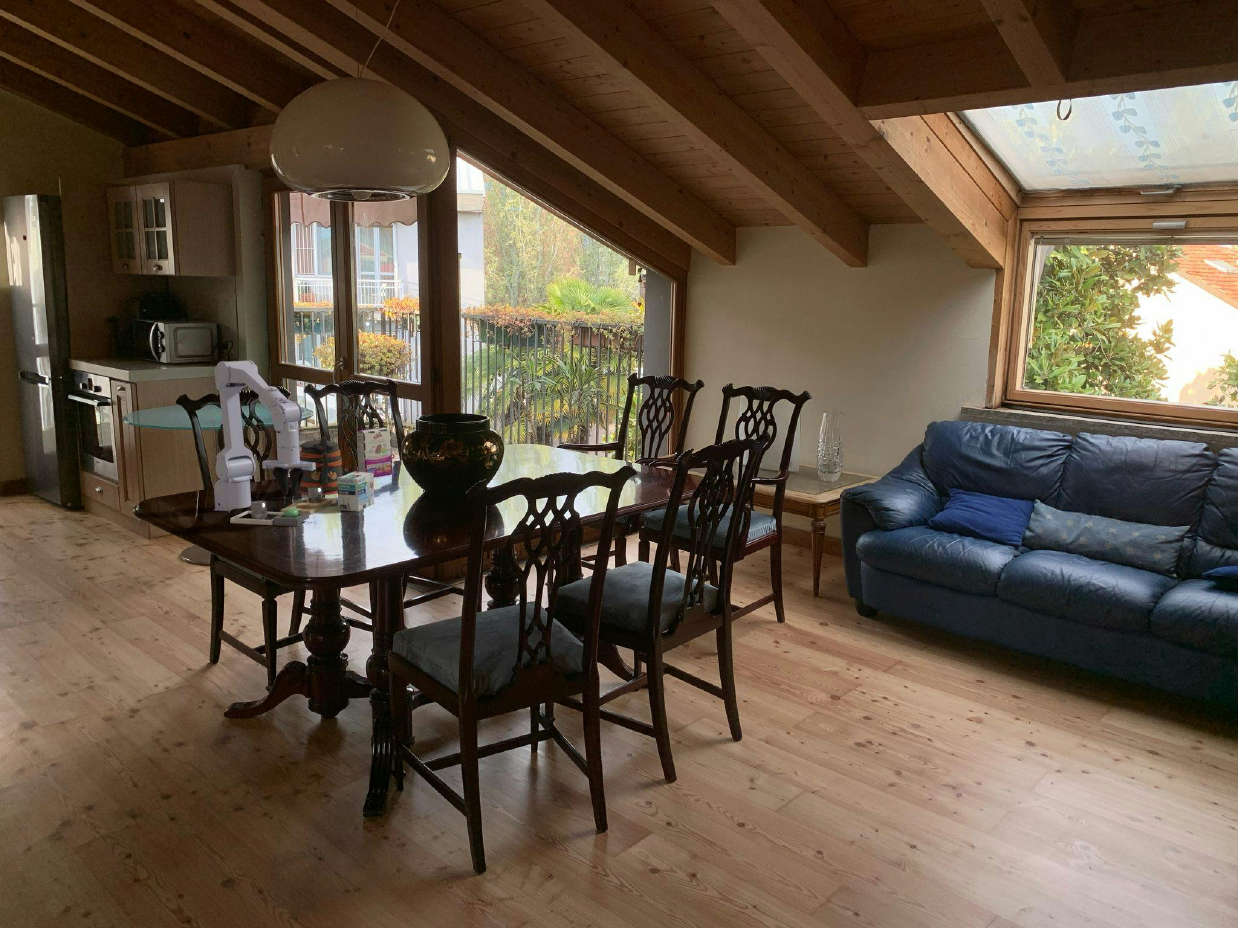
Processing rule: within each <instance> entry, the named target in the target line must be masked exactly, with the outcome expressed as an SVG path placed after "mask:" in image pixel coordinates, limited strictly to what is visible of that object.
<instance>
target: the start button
mask: <svg viewBox="0 0 1238 928" xmlns="http://www.w3.org/2000/svg"><path fill="white" fill-rule="evenodd" d="M284 515H285V517H291V518H296V517H298V509H286V510H284Z"/></svg>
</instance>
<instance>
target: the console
mask: <svg viewBox="0 0 1238 928" xmlns="http://www.w3.org/2000/svg"><path fill="white" fill-rule="evenodd" d="M272 519H273V521H274V524H273V526H283V527H285V526H286V527H299V526H302V525H303V524H305V523H306V522H307V520H308V519H310V515H309V513H298V517H296V518H291V517H285V515H284V513H282V514H280V515H276V516H274V517H273V518H272Z"/></svg>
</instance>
